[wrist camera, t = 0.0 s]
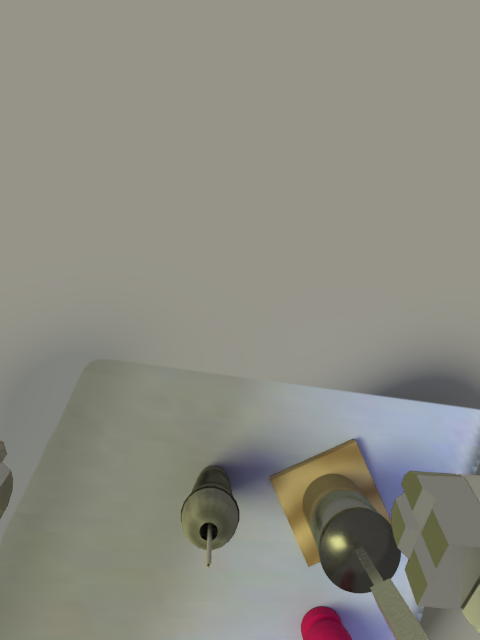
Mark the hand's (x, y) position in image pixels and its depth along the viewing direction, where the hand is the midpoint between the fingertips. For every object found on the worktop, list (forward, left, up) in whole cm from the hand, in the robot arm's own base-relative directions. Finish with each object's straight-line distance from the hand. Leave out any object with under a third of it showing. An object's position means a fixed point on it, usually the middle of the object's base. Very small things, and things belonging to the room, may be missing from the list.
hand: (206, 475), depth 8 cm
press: (-29, -5, -53) cm, 61 cm away
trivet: (-28, -5, -54) cm, 61 cm away
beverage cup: (-18, +10, -55) cm, 58 cm away
